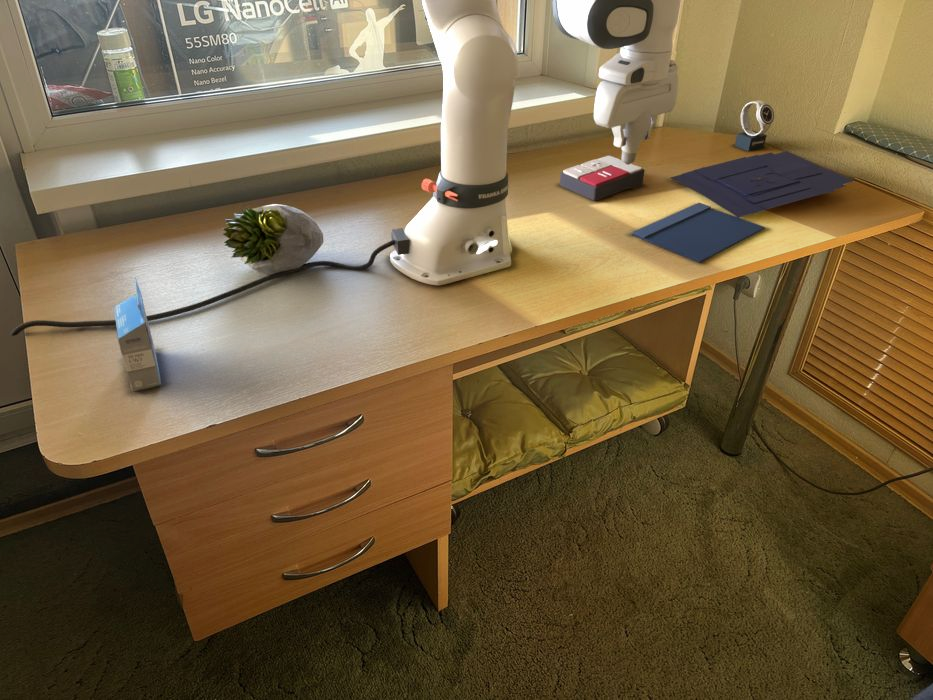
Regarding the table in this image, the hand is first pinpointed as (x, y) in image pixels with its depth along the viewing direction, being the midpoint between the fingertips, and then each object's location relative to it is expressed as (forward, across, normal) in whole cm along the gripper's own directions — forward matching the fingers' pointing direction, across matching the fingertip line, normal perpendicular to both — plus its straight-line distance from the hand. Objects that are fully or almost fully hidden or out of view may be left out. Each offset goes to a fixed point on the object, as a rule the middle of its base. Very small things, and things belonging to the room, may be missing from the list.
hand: (630, 142), depth 133 cm
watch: (+14, -59, -6) cm, 61 cm away
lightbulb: (+4, 0, 0) cm, 4 cm away
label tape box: (+17, +91, -8) cm, 93 cm away
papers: (+14, -34, +11) cm, 38 cm away
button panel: (+15, -10, -13) cm, 22 cm away
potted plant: (+16, +63, -24) cm, 70 cm away
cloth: (+14, -6, +15) cm, 21 cm away
